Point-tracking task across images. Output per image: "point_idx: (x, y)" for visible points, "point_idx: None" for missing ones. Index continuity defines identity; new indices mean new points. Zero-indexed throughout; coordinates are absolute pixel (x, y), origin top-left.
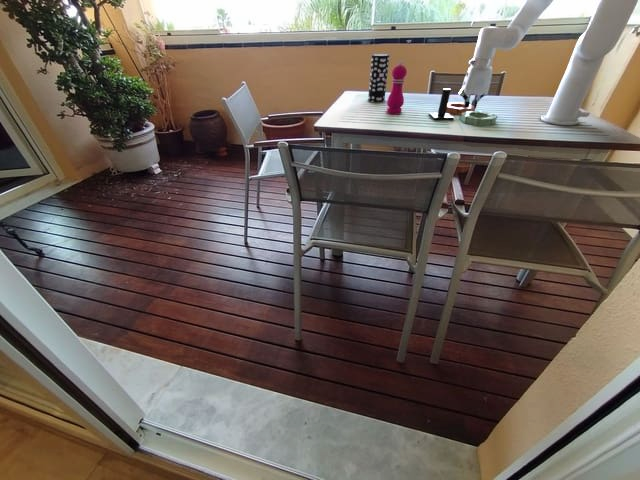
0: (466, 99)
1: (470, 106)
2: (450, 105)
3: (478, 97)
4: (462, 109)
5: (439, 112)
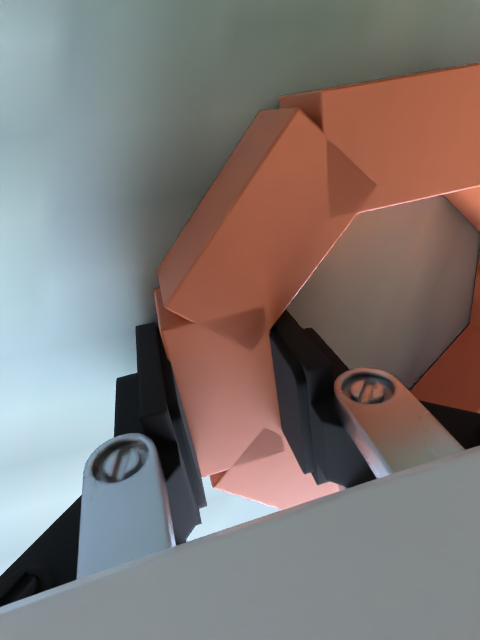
0: (403, 401)
1: (246, 318)
2: (476, 389)
3: (131, 512)
4: (465, 65)
5: None
